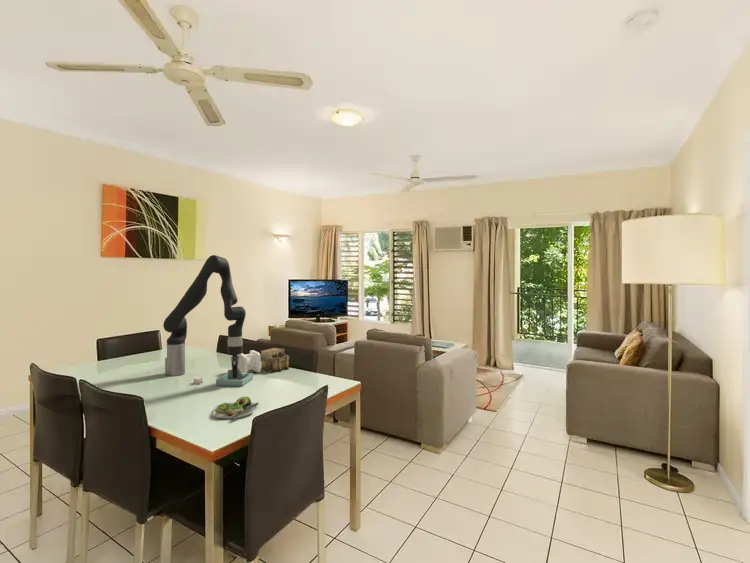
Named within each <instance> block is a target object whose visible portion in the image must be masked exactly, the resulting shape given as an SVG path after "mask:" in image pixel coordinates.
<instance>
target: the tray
mask: <svg viewBox="0 0 750 563" xmlns="http://www.w3.org/2000/svg"><path fill="white" fill-rule="evenodd" d="M252 380H254V373H250V372H249V373H248V372H247V373H245V376H242V379H241V380H228V372H227V373H225V374H223V375H222V376H220V377H218V378H217V379H215V386H217V387H244V386H246V385H247V384H249V382H252Z"/></svg>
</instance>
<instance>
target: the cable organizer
mask: <svg viewBox="0 0 750 563" xmlns="http://www.w3.org/2000/svg"><path fill="white" fill-rule="evenodd" d="M238 356H239V365H238V369H242V373H248V372H249V373H250V371H251V370H252V371H253V372H255V373H257V374H258V373H260V372H261V371H262V370H261V353H260V352H258V351H256V350H254V349H253V350H251V349H250V350H249V353H246V354H244V353H242V354H238Z"/></svg>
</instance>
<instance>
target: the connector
mask: <svg viewBox="0 0 750 563" xmlns="http://www.w3.org/2000/svg"><path fill="white" fill-rule="evenodd" d="M227 373H228V380H241V379H242V376H245V373H242V369H238V370H237V378H233V371H232V368H231V369H228V370H227Z"/></svg>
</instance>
